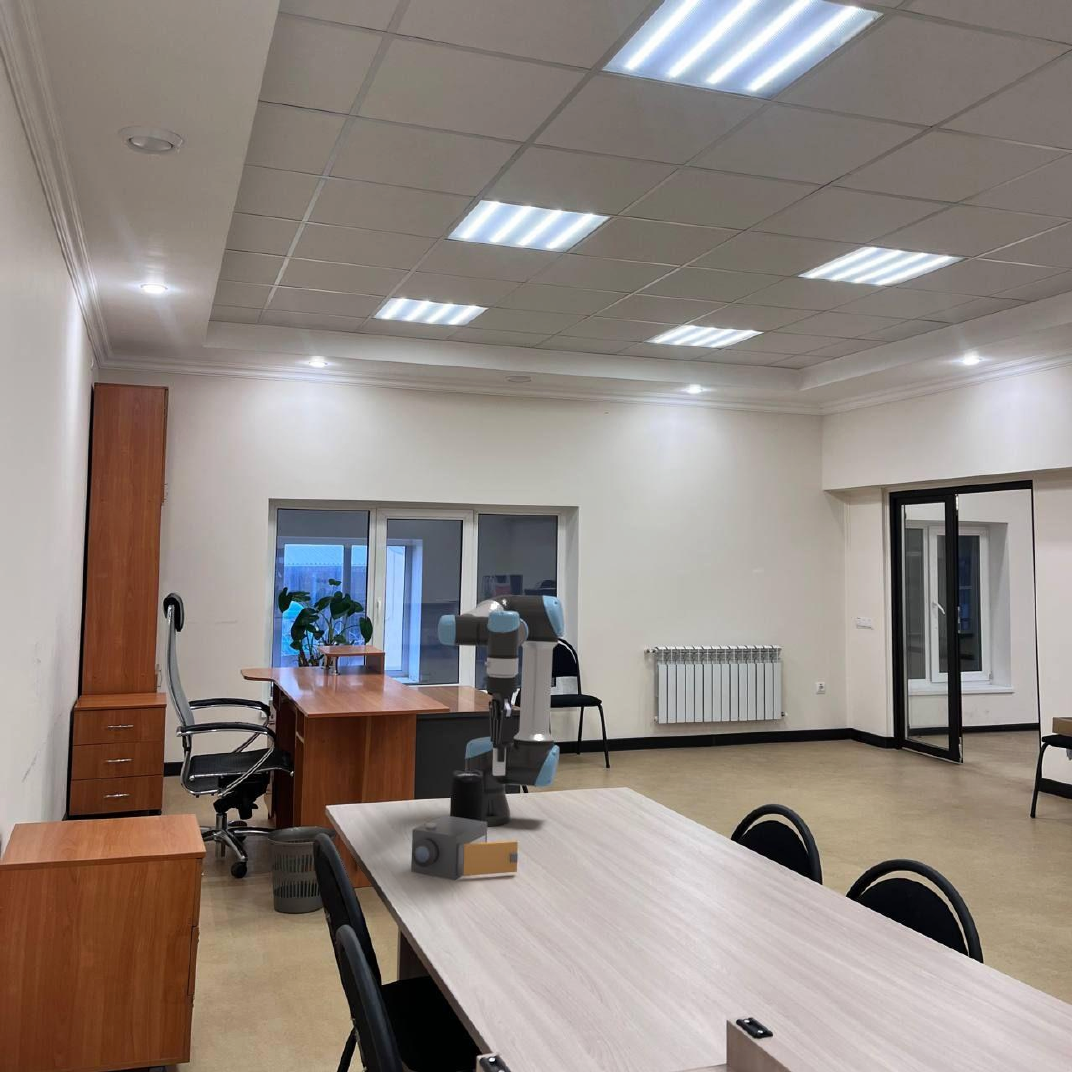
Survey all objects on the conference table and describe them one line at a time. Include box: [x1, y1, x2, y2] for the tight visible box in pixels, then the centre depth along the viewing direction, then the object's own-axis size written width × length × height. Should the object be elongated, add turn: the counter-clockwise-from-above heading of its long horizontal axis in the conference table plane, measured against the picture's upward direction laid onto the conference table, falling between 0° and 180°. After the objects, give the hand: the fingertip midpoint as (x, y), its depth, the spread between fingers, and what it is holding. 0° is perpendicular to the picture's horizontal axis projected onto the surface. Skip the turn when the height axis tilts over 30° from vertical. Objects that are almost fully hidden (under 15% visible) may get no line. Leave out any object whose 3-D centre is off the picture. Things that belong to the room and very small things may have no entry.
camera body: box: [410, 814, 488, 881], centre depth 232 cm, size 18×12×11 cm
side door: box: [458, 840, 519, 877], centre depth 226 cm, size 14×2×7 cm, turn 109°
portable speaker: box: [449, 770, 484, 821], centre depth 249 cm, size 9×9×20 cm
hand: (498, 774), depth 231 cm, fingers closed
